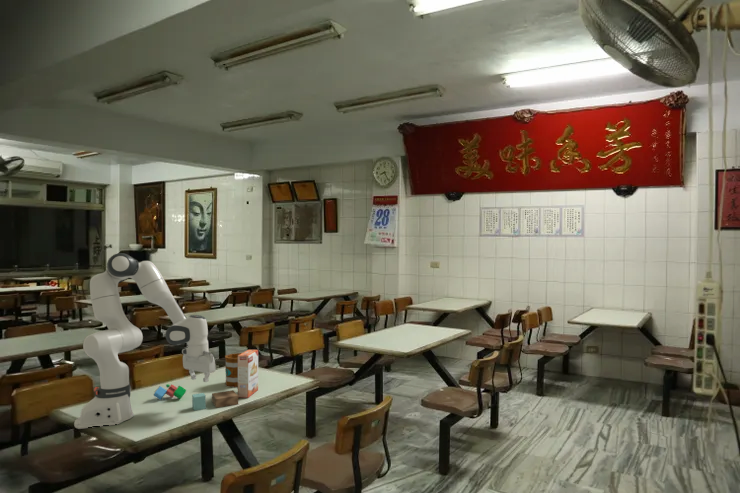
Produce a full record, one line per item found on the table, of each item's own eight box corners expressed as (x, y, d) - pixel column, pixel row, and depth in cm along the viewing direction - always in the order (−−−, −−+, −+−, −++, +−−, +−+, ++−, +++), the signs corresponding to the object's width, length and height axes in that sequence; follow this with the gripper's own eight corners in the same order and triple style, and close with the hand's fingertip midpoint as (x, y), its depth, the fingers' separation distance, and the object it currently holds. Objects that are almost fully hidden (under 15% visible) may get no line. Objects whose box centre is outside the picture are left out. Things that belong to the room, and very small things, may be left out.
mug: (220, 383, 265) (219, 355, 265) (243, 378, 274) (242, 351, 274) (237, 391, 250) (237, 361, 250) (260, 385, 259) (260, 357, 259)
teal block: (194, 410, 222) (194, 397, 222) (192, 407, 226) (192, 394, 226) (205, 408, 224) (205, 395, 224) (203, 405, 229) (203, 392, 228)
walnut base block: (216, 407, 225) (216, 399, 225) (212, 401, 234) (211, 393, 234) (238, 404, 230) (238, 395, 230) (233, 398, 239) (233, 390, 239)
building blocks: (173, 408, 239) (152, 395, 238) (184, 395, 245) (164, 382, 244) (176, 403, 233) (155, 389, 233) (187, 389, 239) (166, 375, 239)
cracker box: (249, 398, 238) (248, 355, 238) (237, 398, 239) (236, 355, 239) (259, 389, 252) (258, 349, 252) (248, 389, 253) (247, 349, 253)
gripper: (218, 351, 222) (219, 381, 222) (191, 347, 234) (192, 376, 234) (206, 353, 217) (207, 385, 216) (179, 349, 229) (180, 379, 229)
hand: (199, 380), depth 225 cm, fingers open, 8 cm apart
